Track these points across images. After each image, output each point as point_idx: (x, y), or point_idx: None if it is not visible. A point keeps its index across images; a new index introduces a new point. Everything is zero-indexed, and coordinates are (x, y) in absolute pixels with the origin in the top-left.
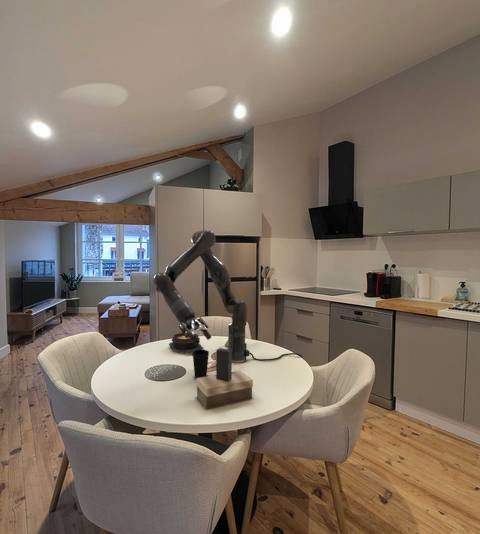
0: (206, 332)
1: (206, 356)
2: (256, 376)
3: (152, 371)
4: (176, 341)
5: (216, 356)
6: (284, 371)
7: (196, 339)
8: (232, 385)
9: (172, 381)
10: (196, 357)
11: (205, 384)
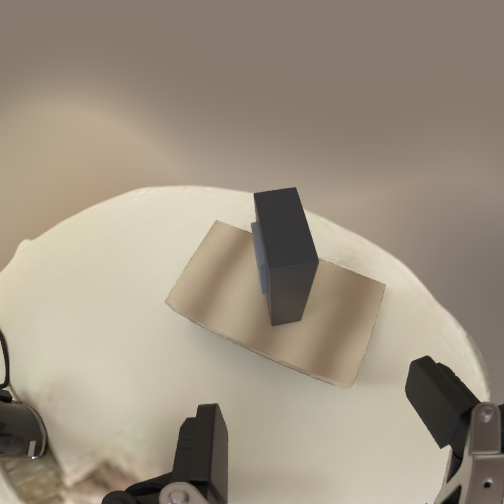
0: (214, 463)
1: (163, 482)
2: (89, 324)
3: None
4: None
5: (313, 280)
6: (42, 277)
7: (443, 380)
8: None
9: None
10: None
11: (367, 315)
